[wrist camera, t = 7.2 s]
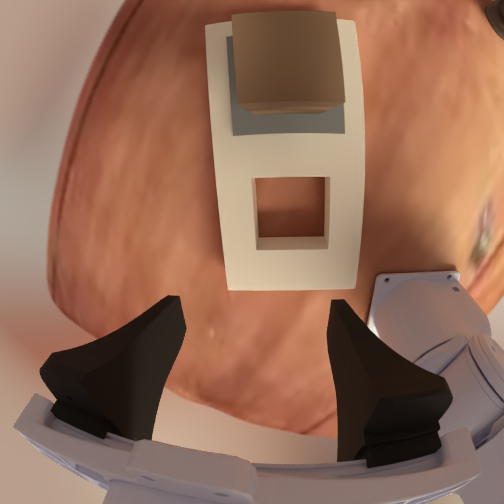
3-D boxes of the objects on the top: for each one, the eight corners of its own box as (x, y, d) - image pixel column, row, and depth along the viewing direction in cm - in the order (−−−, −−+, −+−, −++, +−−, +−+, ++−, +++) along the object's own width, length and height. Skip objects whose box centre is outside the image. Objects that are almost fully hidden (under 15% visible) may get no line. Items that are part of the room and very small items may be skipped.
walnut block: (316, 55, 13) (335, 12, 7) (320, 113, 15) (345, 102, 9) (251, 56, 14) (231, 14, 7) (255, 115, 15) (237, 104, 9)
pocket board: (346, 31, 14) (354, 20, 12) (349, 273, 23) (355, 288, 20) (213, 35, 16) (204, 25, 13) (233, 274, 24) (228, 290, 22)
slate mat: (335, 36, 13) (337, 33, 12) (343, 133, 16) (345, 134, 15) (228, 39, 14) (226, 36, 13) (234, 136, 17) (232, 136, 16)
